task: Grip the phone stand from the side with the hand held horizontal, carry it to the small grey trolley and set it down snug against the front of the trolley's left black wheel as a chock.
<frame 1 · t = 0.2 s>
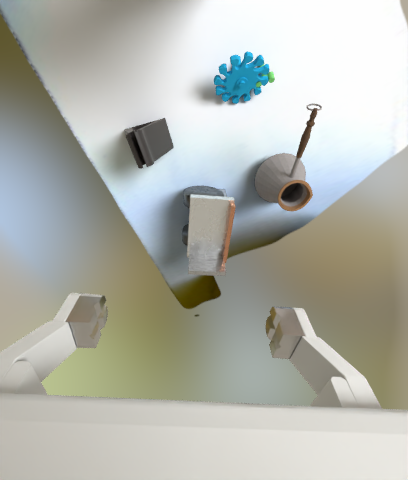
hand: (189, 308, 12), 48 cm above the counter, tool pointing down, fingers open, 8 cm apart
coffee pot: (278, 153, 55), on the counter
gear: (240, 80, 47), on the counter
trolley: (207, 209, 61), on the counter
phone stand: (150, 138, 52), on the counter
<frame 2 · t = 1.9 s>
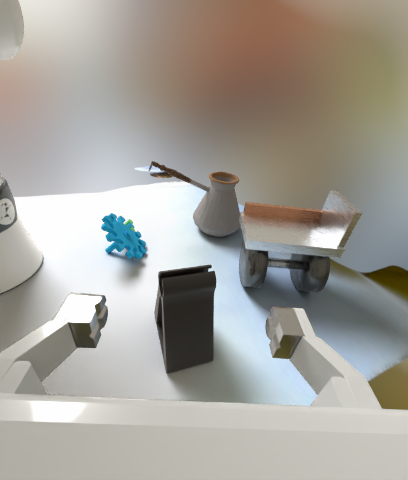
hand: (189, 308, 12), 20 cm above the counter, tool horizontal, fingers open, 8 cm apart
coffee pot: (195, 228, 57), on the counter
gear: (126, 251, 47), on the counter
trolley: (271, 276, 46), on the counter
phone stand: (181, 337, 33), on the counter
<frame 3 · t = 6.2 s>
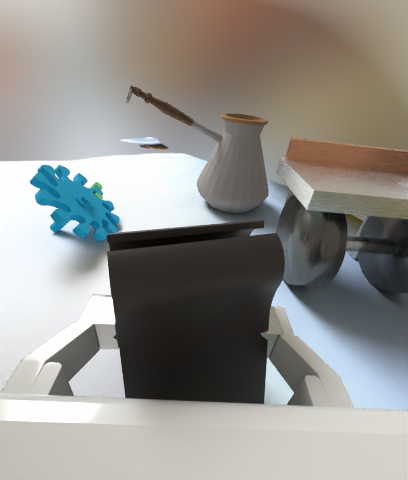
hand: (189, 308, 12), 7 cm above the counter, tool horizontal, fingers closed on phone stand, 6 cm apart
coffee pot: (200, 202, 39), on the counter
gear: (88, 230, 29), on the counter
trolley: (329, 268, 28), on the counter
phone stand: (180, 396, 15), on the counter, touching gripper
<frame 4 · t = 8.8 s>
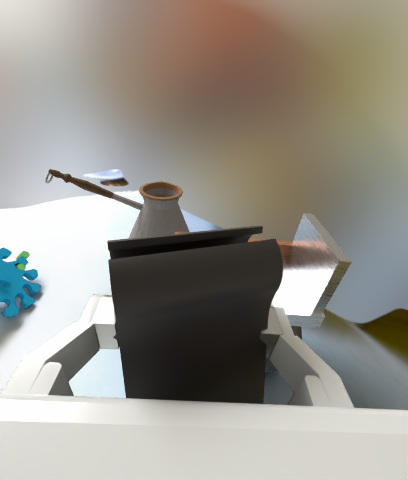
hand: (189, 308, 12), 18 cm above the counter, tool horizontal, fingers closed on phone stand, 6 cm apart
coffee pot: (132, 257, 43), on the counter
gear: (9, 299, 33), on the counter
trolley: (222, 337, 31), on the counter
phone stand: (180, 399, 15), point 10 cm above the counter, touching gripper
when the fingers open (8 cm above the counter, at t = 11.2 s): phone stand stays where it is, on the counter.
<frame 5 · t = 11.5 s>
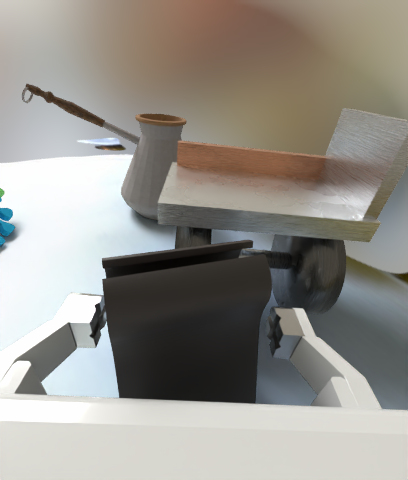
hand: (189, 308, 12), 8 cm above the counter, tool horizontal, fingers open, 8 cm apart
coffee pot: (128, 208, 37), on the counter
trolley: (236, 282, 25), on the counter
phone stand: (176, 404, 16), on the counter
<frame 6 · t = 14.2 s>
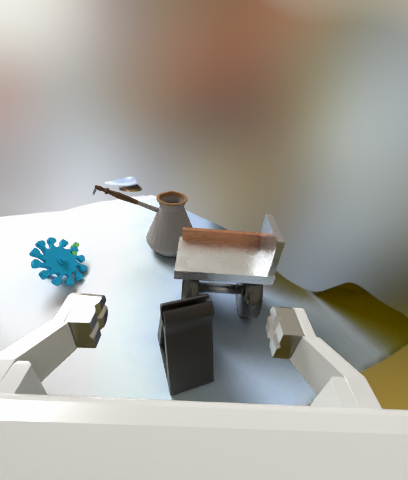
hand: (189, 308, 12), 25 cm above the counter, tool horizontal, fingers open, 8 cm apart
coffee pot: (150, 247, 57), on the counter
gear: (66, 275, 47), on the counter
trolley: (215, 299, 45), on the counter
phone stand: (183, 358, 35), on the counter
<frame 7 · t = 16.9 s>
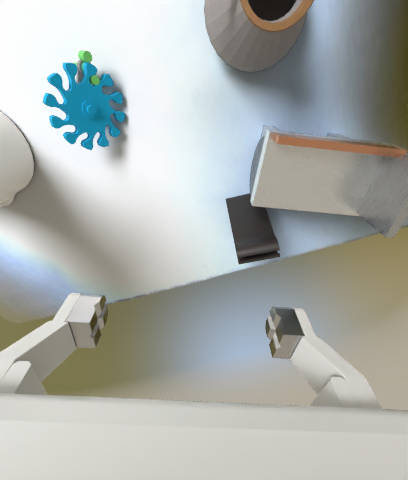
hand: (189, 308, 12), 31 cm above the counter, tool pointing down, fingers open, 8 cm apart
coffee pot: (210, 15, 29), on the counter
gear: (99, 102, 34), on the counter
trolley: (293, 155, 38), on the counter
phone stand: (245, 216, 44), on the counter
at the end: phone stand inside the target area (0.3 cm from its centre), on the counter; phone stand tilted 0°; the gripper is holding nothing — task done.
